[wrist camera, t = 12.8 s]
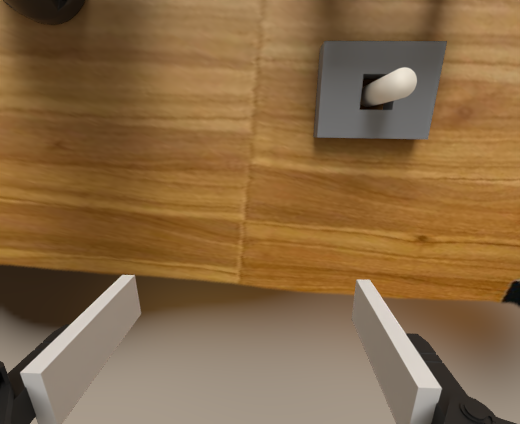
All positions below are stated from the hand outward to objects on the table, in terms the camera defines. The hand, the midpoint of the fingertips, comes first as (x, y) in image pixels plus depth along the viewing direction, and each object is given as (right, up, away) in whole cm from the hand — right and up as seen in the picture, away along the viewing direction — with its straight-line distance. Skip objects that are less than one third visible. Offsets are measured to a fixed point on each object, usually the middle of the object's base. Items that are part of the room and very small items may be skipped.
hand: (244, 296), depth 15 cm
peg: (+20, +25, +29) cm, 43 cm away
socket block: (+20, +25, +29) cm, 43 cm away
